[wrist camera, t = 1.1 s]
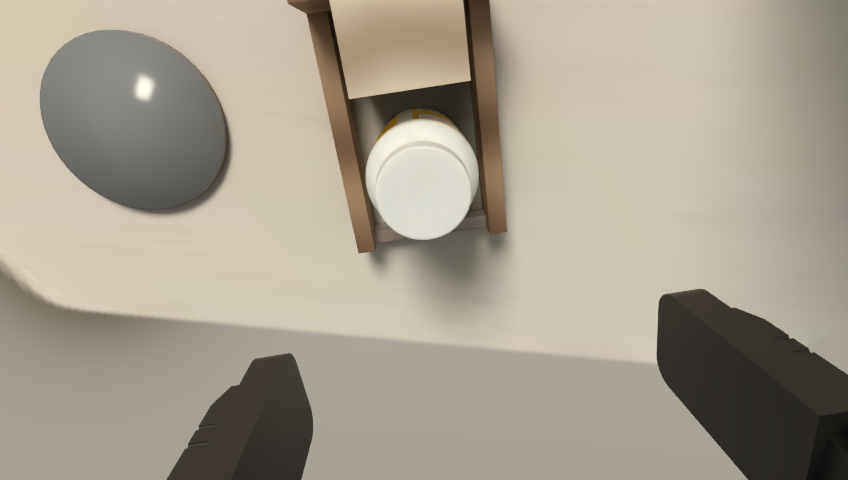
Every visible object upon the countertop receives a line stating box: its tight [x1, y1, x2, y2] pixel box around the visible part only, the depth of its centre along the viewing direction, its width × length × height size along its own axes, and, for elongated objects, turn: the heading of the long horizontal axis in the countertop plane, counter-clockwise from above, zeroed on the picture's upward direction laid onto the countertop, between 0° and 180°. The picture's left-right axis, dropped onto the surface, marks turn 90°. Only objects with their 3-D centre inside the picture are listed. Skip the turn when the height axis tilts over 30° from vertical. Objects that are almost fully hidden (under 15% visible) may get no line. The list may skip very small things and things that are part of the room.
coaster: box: [40, 30, 227, 210], centre depth 25 cm, size 10×10×1 cm
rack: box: [287, 0, 507, 253], centre depth 22 cm, size 14×9×8 cm, turn 8°
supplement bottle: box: [365, 108, 479, 240], centre depth 22 cm, size 5×5×10 cm
